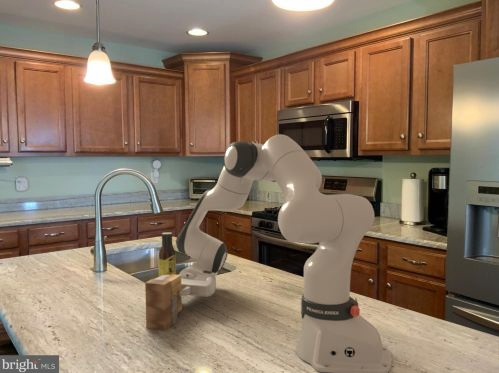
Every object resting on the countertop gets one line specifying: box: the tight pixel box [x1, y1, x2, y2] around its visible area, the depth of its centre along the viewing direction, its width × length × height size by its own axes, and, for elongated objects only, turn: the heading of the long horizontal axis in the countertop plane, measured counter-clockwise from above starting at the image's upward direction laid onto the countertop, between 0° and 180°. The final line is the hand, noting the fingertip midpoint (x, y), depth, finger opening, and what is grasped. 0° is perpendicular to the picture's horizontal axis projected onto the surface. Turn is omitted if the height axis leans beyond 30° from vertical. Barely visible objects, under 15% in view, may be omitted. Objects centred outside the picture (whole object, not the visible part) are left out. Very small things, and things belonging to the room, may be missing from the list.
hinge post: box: [144, 278, 178, 331], centre depth 114 cm, size 7×6×13 cm
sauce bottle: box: [158, 232, 177, 277], centre depth 148 cm, size 7×6×20 cm
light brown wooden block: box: [163, 274, 183, 314], centre depth 120 cm, size 3×6×11 cm, turn 163°
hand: (171, 293), depth 120 cm, fingers closed on light brown wooden block, 3 cm apart
